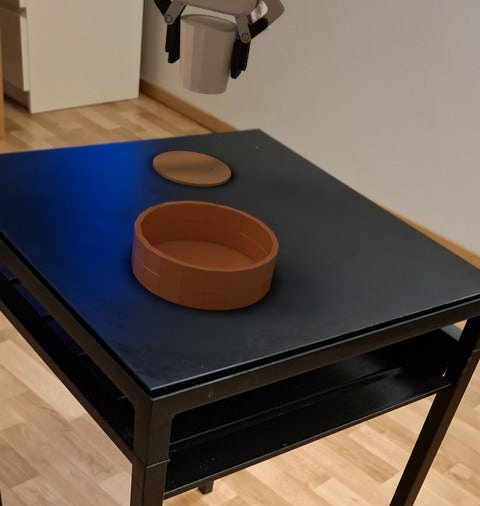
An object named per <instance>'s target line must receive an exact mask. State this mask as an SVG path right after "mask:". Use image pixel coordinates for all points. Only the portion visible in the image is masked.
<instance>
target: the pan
mask: <svg viewBox="0 0 480 506" xmlns="http://www.w3.org/2000/svg"><path fill="white" fill-rule="evenodd" d="M132 235H133V237H132V251H131V252H132V253H131V260H130V261H131V268H132V273H133V275H134V276H135V278H136V280H137V281H138V282H139V283H140V284H141V285H142V286H143V287H144V288H145V289H147V290H148V291H150V292H151V293H152V294H154V295H156V296H157V297H159V298H161V299H163V300H166V301H167V302H168V301H169V302H171V303H173V304H177V305H179V306H182V307H187V308H192V309H196V310H197V309H198V310H205V311H206V310H207V311H228V310H237V309H241V308H245V307H248V306H251V305H253V304H255V303H257V302H259V301H260V300H262V299H263V298H264V297H265V296H266V295H267V294H268V292H269V291H270V288H271V284H272V279H273V276H274V270H275V264H276V261H277V256H278V252H279V245H280V243H279V240H278V238H277V236H276V234H275V232H274V231H273V230H272V229H271V228H270V227H269V226H267V225H266V224H265V222H264V221H262V220H260V219H258V218H256V217H255V216H253V215H251V214H250V213H248V212H245V211H242V210H240V209H237V208H234V207H231V206H229V205H222V204H218V203H214V202H208V201H199V200H178V201H177V200H176V201H166V202H162V203H159V204H156V205H151V206H150V207H148V208H147V209H145V210H143V211H142V212H140V213H139V215H138V216H137V218H136V220H135V222H134V224H133V234H132Z"/></svg>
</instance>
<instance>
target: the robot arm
mask: <svg viewBox="0 0 480 506" xmlns="http://www.w3.org/2000/svg"><path fill="white" fill-rule="evenodd" d="M262 1H263V3H264V5H265V6H266V8H267V9H266V12H265V13H264V14H263V15H262V16H261V17H259V18H258V19H257V20H255V21H254V19H253V15H252V13H253V12H254V11H255V9H257V8H258V7H259V5H260V3H261V0H153V2H154V4H155V6H156V8H157V9H158V11H159V12H160V14H161V16H162V17H163V22H164V23H165V24H166V31H165V43H164V44H165V45H164V52H165V53H168V55H167V63H168V64H170V65H173V64H175V63H177V62H178V61H180V26H181V16H183V15H184V12H185V11H186V9H187V7H188V6H189V7H194V8H197V9H201V10H205V11H211V12H213V13H217V14H223V15H227V16H231V17H234V21H235V23H236V24H237V28H238V31H239V36H238V40H237V41H235V44H234V51H233V57H232V64H231V71H230V75H229V78H231V79H233V80H237V79H238V78H239V76H240V75H241V74H242V72H246V70H247V67H248V63H249V57H250V50H251V43H252V40H254V39H255V38H256V37H257V36H259V35H260V34H261V33H262V32H264V31H265V30H266V29H268V28H269V27H270V26H271V25H272V24H273V23H275V22H276V21H277V20H278V19H279V18H280V17H282V15H283V14H284V13H285V6H284V4H283V3H282V1H281V0H262Z"/></svg>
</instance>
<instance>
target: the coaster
mask: <svg viewBox="0 0 480 506" xmlns="http://www.w3.org/2000/svg"><path fill="white" fill-rule="evenodd" d="M152 167H153V169H154V171H155V172H156V173H158V175H160V176H161V177H163V178H165V179H167V180H168V181H171V182H174V183H177V184H180V185H185V186H190V187H201V188H209V187H210V188H211V187H216V186H221V185H225V183H227V182H229V181H230V179H231V177H232V171H231V169H230V167H229V166H228V165H227V164H226V163H225V162H223V161H222V160H220V159H218V158H216V157H214V156H211V155H208V154H205V153H200V152H196V151H189V150H187V151H186V150H172V151H166V152H162V153H159V154H158V155H156V156H155V157H154V158H153V159H152Z"/></svg>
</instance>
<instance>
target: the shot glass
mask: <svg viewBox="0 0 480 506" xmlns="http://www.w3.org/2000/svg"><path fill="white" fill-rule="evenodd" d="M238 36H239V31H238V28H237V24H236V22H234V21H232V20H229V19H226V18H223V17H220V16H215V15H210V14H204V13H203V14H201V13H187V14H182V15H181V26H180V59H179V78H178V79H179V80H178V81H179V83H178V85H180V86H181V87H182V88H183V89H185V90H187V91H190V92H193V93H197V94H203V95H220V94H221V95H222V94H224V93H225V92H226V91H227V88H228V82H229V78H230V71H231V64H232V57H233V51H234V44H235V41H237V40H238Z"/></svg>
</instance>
